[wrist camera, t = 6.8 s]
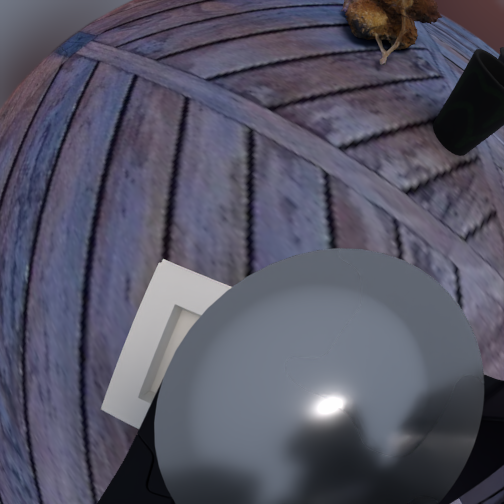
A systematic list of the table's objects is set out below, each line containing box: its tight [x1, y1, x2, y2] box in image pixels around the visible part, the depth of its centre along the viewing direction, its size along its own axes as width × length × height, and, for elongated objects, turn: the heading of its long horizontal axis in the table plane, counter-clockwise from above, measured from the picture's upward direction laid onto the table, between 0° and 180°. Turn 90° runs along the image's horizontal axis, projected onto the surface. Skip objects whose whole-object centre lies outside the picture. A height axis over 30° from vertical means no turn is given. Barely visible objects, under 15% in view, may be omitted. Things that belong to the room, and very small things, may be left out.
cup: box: [433, 49, 504, 156], centre depth 24 cm, size 8×8×12 cm
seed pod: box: [341, 0, 442, 65], centre depth 30 cm, size 13×16×15 cm
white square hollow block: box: [101, 259, 232, 429], centre depth 19 cm, size 12×12×4 cm
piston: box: [154, 248, 484, 504], centre depth 9 cm, size 5×5×13 cm
